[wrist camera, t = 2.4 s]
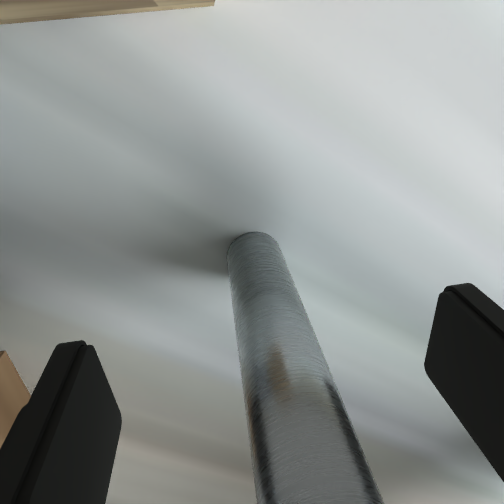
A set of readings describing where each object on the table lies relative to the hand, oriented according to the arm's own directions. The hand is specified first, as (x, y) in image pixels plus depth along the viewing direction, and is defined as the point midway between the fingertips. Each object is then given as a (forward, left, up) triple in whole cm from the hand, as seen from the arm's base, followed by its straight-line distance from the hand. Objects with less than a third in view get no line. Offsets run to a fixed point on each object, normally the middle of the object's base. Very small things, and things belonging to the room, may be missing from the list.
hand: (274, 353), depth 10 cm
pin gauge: (0, 0, -6) cm, 6 cm away
